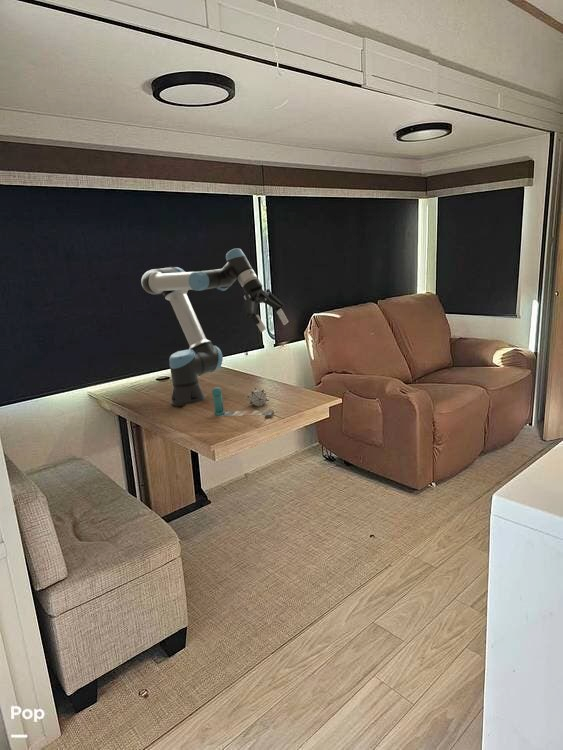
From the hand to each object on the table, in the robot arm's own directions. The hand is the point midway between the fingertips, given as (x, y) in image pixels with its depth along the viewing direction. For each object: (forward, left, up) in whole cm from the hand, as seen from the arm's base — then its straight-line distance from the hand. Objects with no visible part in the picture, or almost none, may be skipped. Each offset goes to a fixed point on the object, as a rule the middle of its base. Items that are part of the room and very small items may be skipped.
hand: (275, 326), depth 203 cm
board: (-14, -11, -34) cm, 39 cm away
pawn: (-24, -11, -33) cm, 42 cm away
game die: (-10, 0, -34) cm, 36 cm away
